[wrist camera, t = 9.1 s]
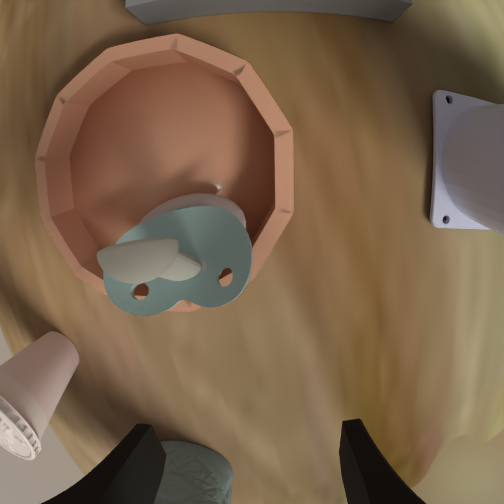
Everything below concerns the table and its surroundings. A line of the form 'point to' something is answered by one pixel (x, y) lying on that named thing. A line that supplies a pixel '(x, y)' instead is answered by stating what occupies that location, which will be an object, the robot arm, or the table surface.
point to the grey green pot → (194, 475)
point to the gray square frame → (262, 8)
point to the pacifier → (180, 256)
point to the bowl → (161, 149)
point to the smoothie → (33, 391)
